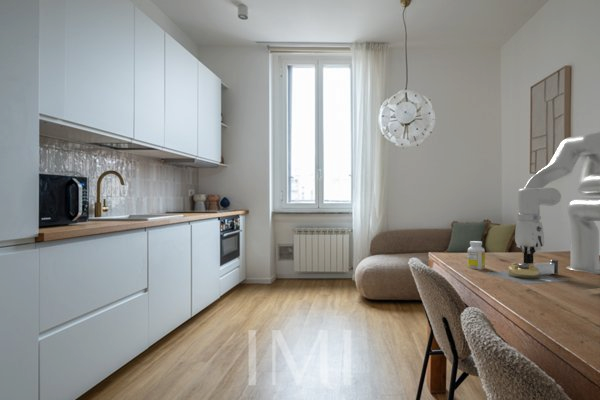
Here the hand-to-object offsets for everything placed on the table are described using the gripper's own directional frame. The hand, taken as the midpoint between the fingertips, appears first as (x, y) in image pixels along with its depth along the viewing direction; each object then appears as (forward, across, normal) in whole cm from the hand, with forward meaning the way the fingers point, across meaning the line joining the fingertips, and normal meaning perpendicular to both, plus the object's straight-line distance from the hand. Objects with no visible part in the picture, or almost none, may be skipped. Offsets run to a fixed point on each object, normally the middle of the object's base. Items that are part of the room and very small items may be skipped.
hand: (528, 263), depth 143 cm
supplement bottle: (+5, +12, +14) cm, 20 cm away
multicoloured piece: (+3, -6, +3) cm, 8 cm away
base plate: (+5, -6, +9) cm, 12 cm away
